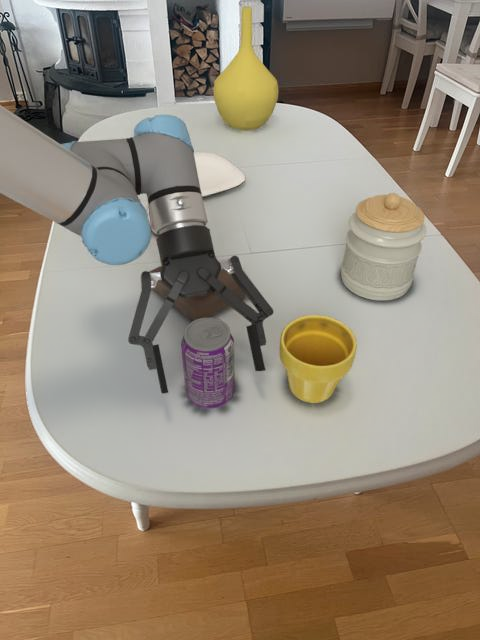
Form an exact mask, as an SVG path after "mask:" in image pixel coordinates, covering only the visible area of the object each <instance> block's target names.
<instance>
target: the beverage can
mask: <svg viewBox="0 0 480 640" xmlns="http://www.w3.org/2000/svg"><path fill="white" fill-rule="evenodd" d="M180 347H181V348H180V349H181V356H182V357H181V358H182V368H183V377H184V388H185V395H186V397H187V399H188V400H189V401H190V402H191V403H192V404H193V405H195V406H196V407H199V408H203V409H215V408H219V407H221V406H224V405H226V404H227V403H228V402H229V401H231V399H232V398H233V396H234V394H235V340H234V336H233V335H232V333H231V328H230V326H229V325H228V324H227V323H226V322H225V321H223V320H221V319H219V318H215V317H210V318H200V319H197V320H194V321H191V322H190V323H188V325H186V326H185V328H184V331H183V337H182V339H181V344H180Z"/></svg>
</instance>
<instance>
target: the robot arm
mask: <svg viewBox="0 0 480 640" xmlns="http://www.w3.org/2000/svg"><path fill="white" fill-rule="evenodd" d="M194 153H195V149H194V146H193V144H192V140H191V136H190V133H189V129H188V127H187V125H186V123H185V121H184V120H182V119H181V118H180V117H178V116H177V115H176V116H175V115H172V114H155V115H154V116H153V117H146V118H143V119H142V120H140V121H139V122H138V123H136V124H135V126H134V130H133V136H131V137H126V138H114V139H100V140H85V141H78V140H73V141H71V142H65V143H59V142H58V141H56V140H55V139H53V138H51V137H50V136H49V135H47V134H45V133H44V132H42V131H41V130H40V129H38V128H36V127H35V126H33V125H32V124H30V123H29V122H27V121H25V120H24V119H22V118H21V117H20V116H18V115H16V114H15V113H14V112H11V111H10V110H8V109H7V108H5V107H4V106H2V105H1V104H0V194H1V195H3V196H5V197H7V198H9V199H10V200H13V201H14V202H16V203H18V204H20V205H22V206H24V207H25V208H28V209H29V210H31V211H33V212H35V213H37V214H38V215H41V216H43V217H44V218H46V219H48V220H49V221H52V222H54V223H56V224H57V225H58V226H61V227H63V228H65V229H67V230H68V231H70V232H71V233H74V234H75V235H77V236H79V237H80V238H81V241H82V244H83V246H84V247H85V248H86V249H87V251H88V254H90V255H91V256H92V258H94V259H95V260H97V261H98V262H100V263H102V264H105V265H110V266H122V265H127V264H129V263H132V262H134V261H136V260H137V259H139V258H140V257H141V256H143V254H144V253H145V252H146V250H147V249H148V247H149V246H150V243H151V238H152V229H151V223H150V220H149V218H148V211H147V209H146V207H145V206H144V205H143V204H142V202H141V199H140V197H139V196H140V195H143V194H145V195H146V198H148V199H147V203H148V202H149V207H150V212H151V217H152V222H153V227H154V232H155V233H157V234H158V235H157V234H156V235H157V237H156V239H155V241H156V246H157V250H158V255H159V260H160V264H161V265H160V266H162V269H161V272H155V273H149V271H147V270H144V271H142V272H141V274H140V285H141V292H140V295H139V299H138V302H137V306H136V309H135V313H134V317H133V320H132V323H131V327H130V331H129V335H128V339H127V340H128V343H129V344H130V345H135V346H140V347H142V349H143V352H144V357H145V361H146V362H145V363H146V366H147V368H148V370H149V371H152V370H156V373H157V378H158V383H159V388H160V393H161V394H162V395H164V394H168V393H169V389H168V385H167V379H166V373H165V370H164V364H163V360H162V354H161V351H160V345H159V344H153V342H154V341H155V338H156V337H157V335H158V333H159V331H160V329H161V328H162V325H163V324H164V322H165V320H166V318H167V316H168V315H169V313H170V311H171V309H172V307H173V306H174V305H173V304H174V302H175V300H176V299H177V297H180V298H183V299H188V298H191V297H193V296H204V295H206V294H208V293H209V292H210V291H211V292H212V293H213V294H215V295H216V296H218V297H220V298H221V299H222V300H223V301H225V302H226V303H227V304H228V305H229V307H230V308H232V309H233V310H234V311H236V312H237V313H238V314H239V315H240V316H242V317H243V318H244V319H245V320H247V321H248V322H249V323H250V325H246V326H245V328H246V332H247V338H248V342H249V347H250V352H251V356H252V360H253V361H252V362H253V366H254V370H255V372H265V371H266V367H265V362H264V357H263V356H264V355H263V351H262V346H266V345H267V339H266V334H265V329H264V321H265V320H267V319H268V318H269V317H271V316H273V314H274V309H273V308H272V306H271V305H270V304H269V302H268V301H267V300H266V299H265V297H264V296H263V294H262V293H261V292H260V291H259V289H258V288H257V287H256V285H255V284H254V283H253V281H252V280H251V279H250V278H249V276H248V275H247V273H246V272H245V271H244V270H243V266H242V264H241V261H240V258H239V256H238V255H232V256H231V257H230V258H227V259H225V260H220V261H219V259H217V257H216V254H215V248H214V244H213V240H212V233H211V230H210V228H209V227H207V226H206V225H207V224H208V222H209V221H208V216H207V212H206V208H205V203H204V199H203V198H204V197H202V193H201V189H200V184H199V179H198V174H197V168H196V163H195V158H194ZM149 207H148V208H149ZM154 232H153V233H154ZM155 233H154V234H155ZM221 269H222V270H224V271H225V272H226V273H227V274H229V275H230V274H231V275H232V277H233V279H234V280H235V282H236V283H237V284H238V286H239V287H240V288H241V289H242V291H243V292H244V293H245V295H246V297H247V299H248V300H249V301H250V303H251V304H252V305H253V307H254V308H255V309H256V310H257V311H256V310H255V309H254V308H252V306H250V305H249V304H248V303H247V302H245V301H244V300H243V299H242V300H241V299H240V298H239V297H238V296H236V295H235V294H234V293H233V292H231V291H230V290H229V289H228V288H227V287H226V286H225V285H224V284H223V283H222V282H220V281H219V280H218V279H217V277H218V275H219V273H220V271H221ZM159 280H161V281H162V282H163V283H164V284H165V285H166V286H167V287H168V288H169V289H171V290H170V292H169V294H168V296H167V297H166V299H165V298H164V301H163V303H162V305H161V306H160V308H159V310H158V312H157V314H156V315H155V317H154V319H153V321H152V322H151V324H150V326H149V328H148V330H147V332H146V333H145V335H140V332H141V329H142V325H143V322H144V318H145V315H146V310H147V307H148V303H149V300H150V296H151V292H152V290H154V289H153V288H155V287H156V285H157V282H158V281H159Z"/></svg>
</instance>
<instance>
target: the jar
mask: <svg viewBox="0 0 480 640" xmlns="http://www.w3.org/2000/svg"><path fill="white" fill-rule="evenodd" d="M425 219H426V218H425V213H424V211H423V210H422V209H421V208H420V207H419V206H417V205H416V204H415V203H414V202H412V201H411V200H409V199H408V198H406V197H403V196H400V195H399V194H398V193H396V192H390V193H388V194H378V195H374V196H372V197H369V198H366V199H363V200H361V201H359V203H358V204H357V205H356V207H355V211H354V212H353V213H352V214H351V215H350V216H349V218H348V226H349V231H348V232H347V234H346V237H345V249H344V254H343V260H342V262H341V267H340V274H341V275H340V276H341V281H342V283H343V285H344V286H345V288H346V289H347V290H349V291H350V292H352V293H354V295H357V296H359V297H361V298H365V299H368V300H372V301H392V300H396V299H398V298H401V297H402V296H404V295H405V294H406V293H408V291H409V289H410V287H411V286H412V284H413V281H414V276H415V271H416V266H417V263H418V259H419V255H420V254H421V251H422V247H423V246H422V240H424V239H425V237H426V235H427V226H426V224H425V223H424V222H425Z"/></svg>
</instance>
